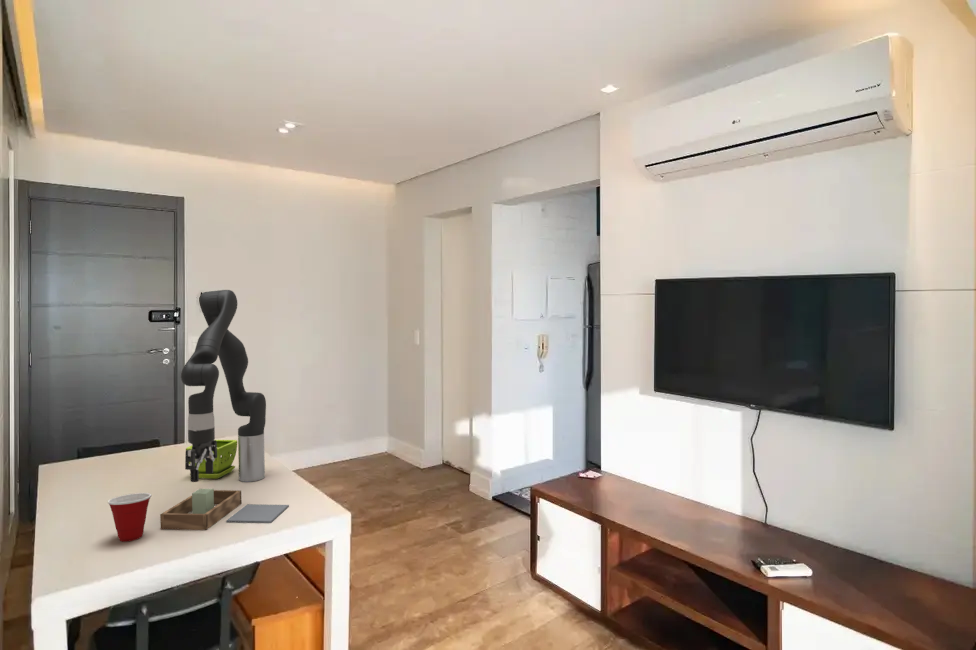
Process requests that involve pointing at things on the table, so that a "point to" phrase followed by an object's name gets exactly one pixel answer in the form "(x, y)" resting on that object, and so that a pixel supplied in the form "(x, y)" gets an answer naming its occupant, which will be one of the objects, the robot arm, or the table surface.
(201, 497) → the sage block
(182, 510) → the wooden frame
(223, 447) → the flower pot
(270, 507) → the slate mat
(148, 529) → the table surface
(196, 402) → the robot arm
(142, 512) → the plastic cup
